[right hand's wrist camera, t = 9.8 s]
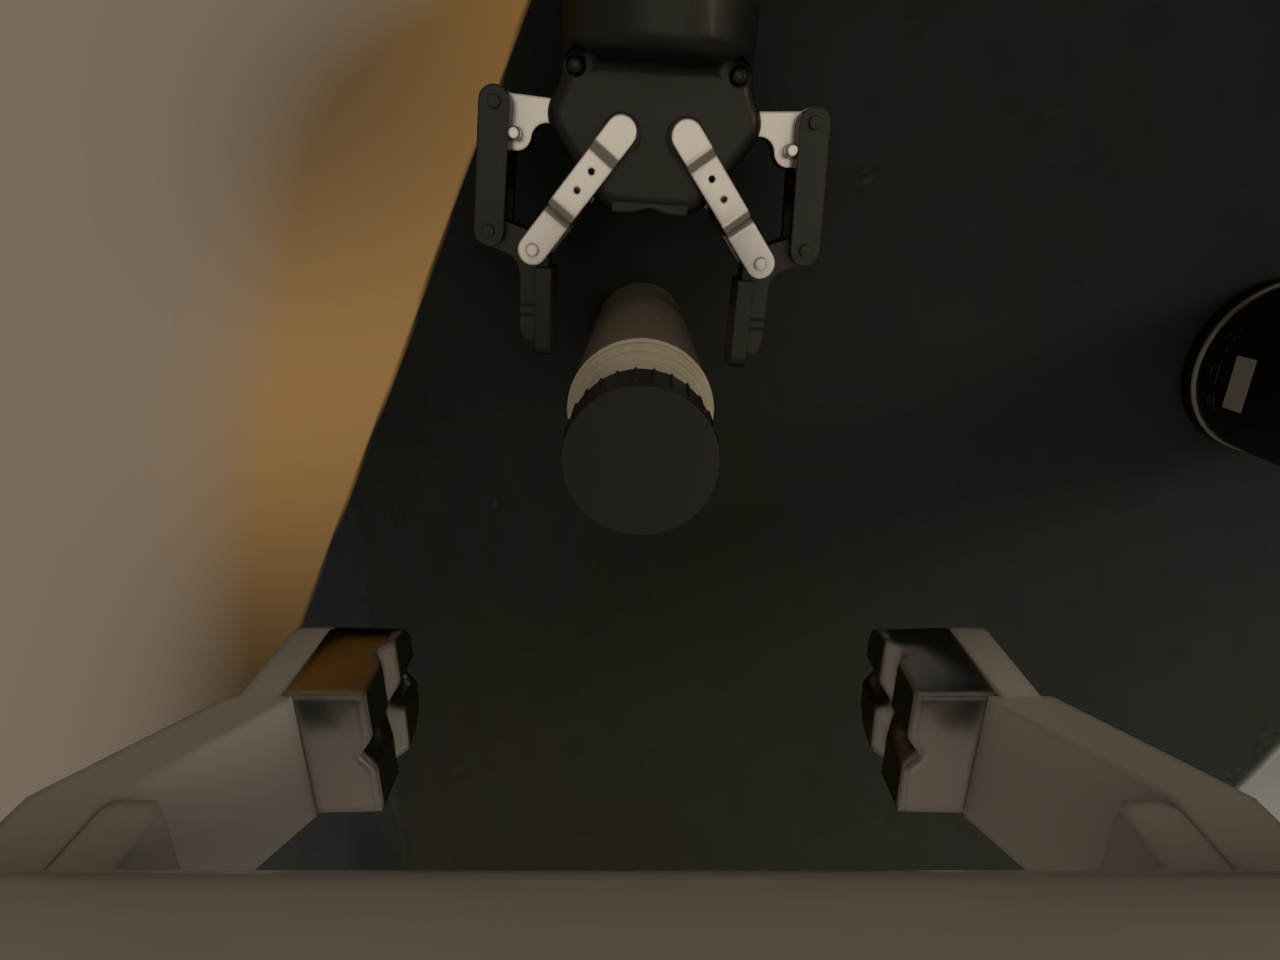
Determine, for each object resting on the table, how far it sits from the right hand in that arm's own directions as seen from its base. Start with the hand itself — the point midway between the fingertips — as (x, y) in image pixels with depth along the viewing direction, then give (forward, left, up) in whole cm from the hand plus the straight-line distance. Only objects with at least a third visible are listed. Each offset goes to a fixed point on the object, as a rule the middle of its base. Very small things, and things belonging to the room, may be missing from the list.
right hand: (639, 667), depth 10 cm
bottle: (0, 0, -30) cm, 30 cm away
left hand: (0, 0, -24) cm, 24 cm away
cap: (0, 0, -9) cm, 9 cm away
